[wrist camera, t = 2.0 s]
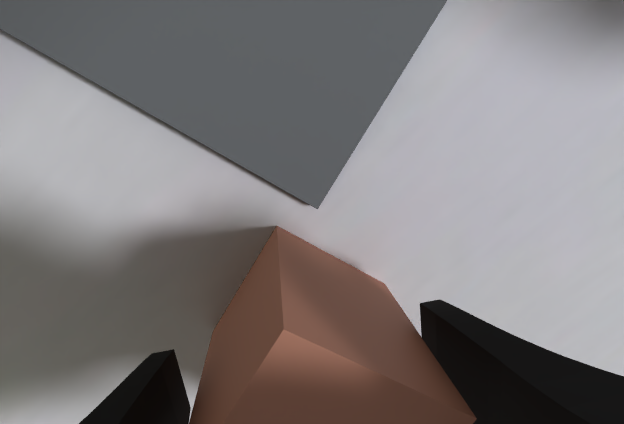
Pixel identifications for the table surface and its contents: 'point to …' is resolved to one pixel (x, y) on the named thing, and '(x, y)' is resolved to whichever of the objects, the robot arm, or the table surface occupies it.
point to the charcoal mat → (241, 70)
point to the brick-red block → (319, 350)
